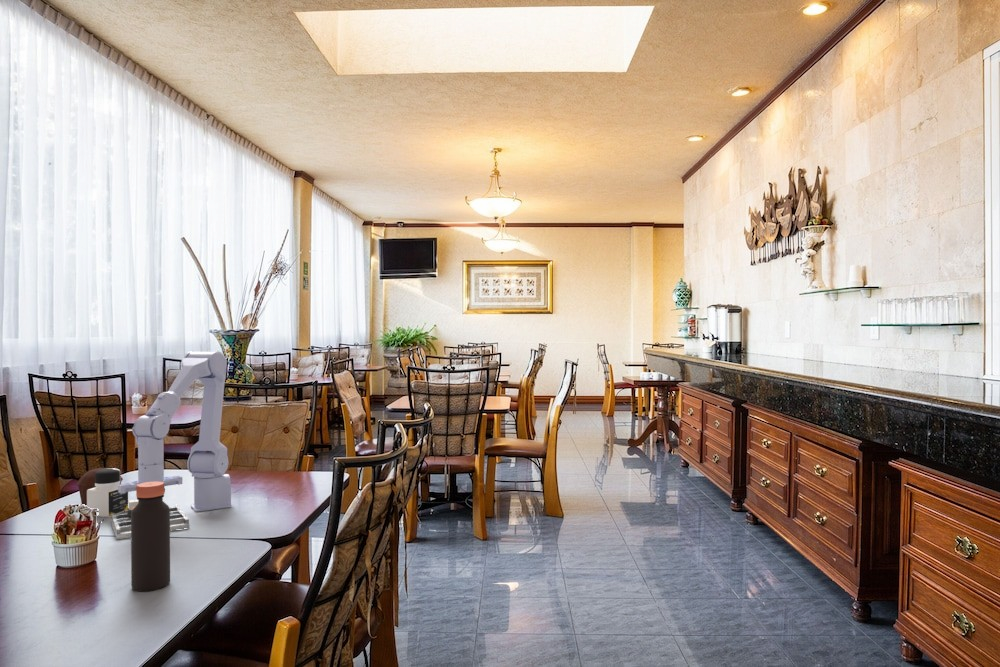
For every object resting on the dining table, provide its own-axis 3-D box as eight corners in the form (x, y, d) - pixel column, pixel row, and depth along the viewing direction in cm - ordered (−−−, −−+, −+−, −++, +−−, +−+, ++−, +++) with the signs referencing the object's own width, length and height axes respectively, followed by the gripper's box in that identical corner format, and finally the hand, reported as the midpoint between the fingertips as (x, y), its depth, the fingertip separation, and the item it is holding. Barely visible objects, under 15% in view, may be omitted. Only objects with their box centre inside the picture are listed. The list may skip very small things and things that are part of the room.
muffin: (67, 506, 193) (67, 471, 193) (103, 497, 204) (103, 464, 203) (97, 510, 189) (96, 474, 189) (132, 501, 199) (131, 467, 199)
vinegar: (129, 594, 129) (129, 489, 129) (133, 582, 135) (132, 482, 135) (169, 588, 132) (168, 486, 132) (170, 577, 138) (170, 479, 138)
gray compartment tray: (177, 512, 187) (177, 504, 187) (189, 528, 172) (189, 519, 172) (110, 521, 178) (110, 513, 178) (116, 539, 163) (116, 530, 163)
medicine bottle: (109, 517, 182) (108, 472, 182) (86, 516, 183) (86, 471, 183) (128, 510, 189) (128, 467, 189) (106, 509, 190) (106, 466, 190)
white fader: (140, 515, 178) (140, 499, 178) (141, 518, 176) (141, 501, 176) (127, 517, 177) (127, 500, 177) (128, 520, 174) (128, 502, 174)
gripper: (175, 457, 179) (175, 508, 179) (114, 464, 169) (114, 519, 169) (185, 460, 174) (185, 513, 174) (123, 469, 164) (123, 525, 164)
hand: (151, 517), depth 171 cm, fingers closed
